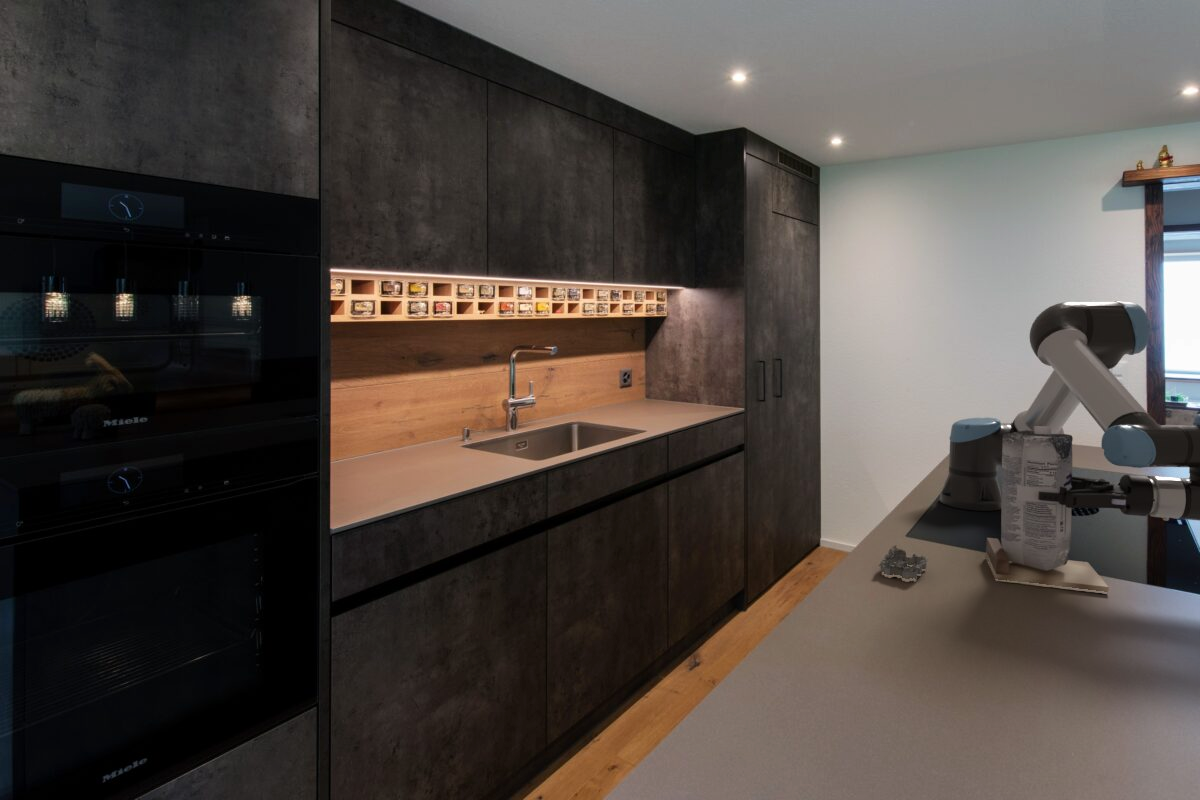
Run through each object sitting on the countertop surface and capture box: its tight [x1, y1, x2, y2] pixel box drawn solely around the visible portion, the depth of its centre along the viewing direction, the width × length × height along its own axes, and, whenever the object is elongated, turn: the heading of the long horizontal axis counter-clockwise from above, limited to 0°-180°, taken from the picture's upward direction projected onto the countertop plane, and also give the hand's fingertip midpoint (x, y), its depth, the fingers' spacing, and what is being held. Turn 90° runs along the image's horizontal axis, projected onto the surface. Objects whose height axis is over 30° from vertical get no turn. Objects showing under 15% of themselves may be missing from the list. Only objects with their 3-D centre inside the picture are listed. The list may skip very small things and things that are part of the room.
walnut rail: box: [985, 537, 1009, 575], centre depth 138 cm, size 2×14×3 cm, turn 158°
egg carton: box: [878, 545, 930, 579], centre depth 137 cm, size 11×8×4 cm
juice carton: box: [1000, 426, 1074, 571], centre depth 134 cm, size 9×10×27 cm
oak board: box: [985, 551, 1109, 593], centre depth 135 cm, size 18×14×2 cm
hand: (1012, 486), depth 136 cm, fingers closed on juice carton, 11 cm apart
